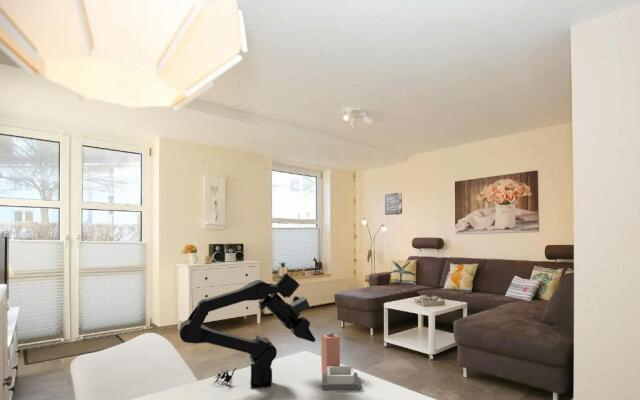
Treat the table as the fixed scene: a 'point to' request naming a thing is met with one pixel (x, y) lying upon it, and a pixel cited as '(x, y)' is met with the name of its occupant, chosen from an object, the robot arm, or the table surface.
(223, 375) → the creature
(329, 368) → the grey socket base
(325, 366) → the pink square bar
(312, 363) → the table surface
